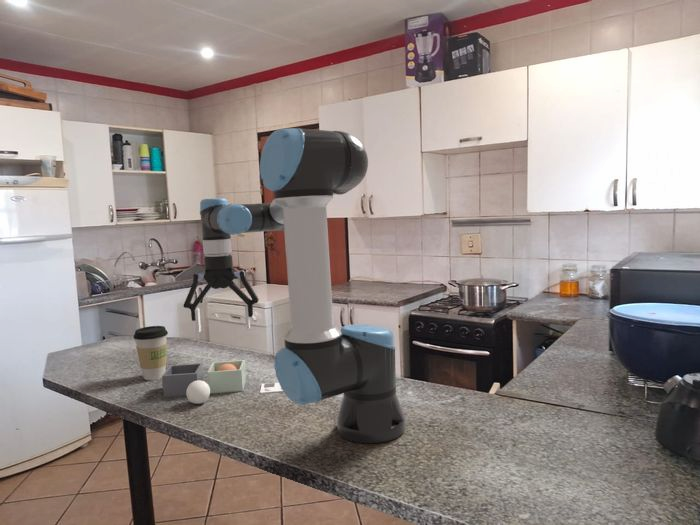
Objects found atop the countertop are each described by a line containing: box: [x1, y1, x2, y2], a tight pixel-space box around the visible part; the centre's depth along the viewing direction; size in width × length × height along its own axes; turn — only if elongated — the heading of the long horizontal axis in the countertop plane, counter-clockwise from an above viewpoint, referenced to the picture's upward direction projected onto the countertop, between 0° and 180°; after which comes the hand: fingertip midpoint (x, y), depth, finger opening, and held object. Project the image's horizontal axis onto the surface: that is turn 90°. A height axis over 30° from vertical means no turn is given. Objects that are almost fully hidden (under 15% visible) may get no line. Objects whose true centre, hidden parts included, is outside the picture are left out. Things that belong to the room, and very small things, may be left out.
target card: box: [259, 381, 284, 394], centre depth 141 cm, size 7×9×1 cm
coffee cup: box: [133, 325, 169, 381], centre depth 154 cm, size 10×10×15 cm
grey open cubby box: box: [161, 362, 205, 398], centre depth 142 cm, size 9×9×6 cm
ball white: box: [186, 380, 210, 405], centre depth 132 cm, size 6×6×6 cm
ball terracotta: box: [217, 364, 237, 371], centre depth 143 cm, size 6×6×6 cm
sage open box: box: [206, 359, 247, 394], centre depth 144 cm, size 9×9×6 cm
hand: (223, 330), depth 142 cm, fingers open, 13 cm apart
